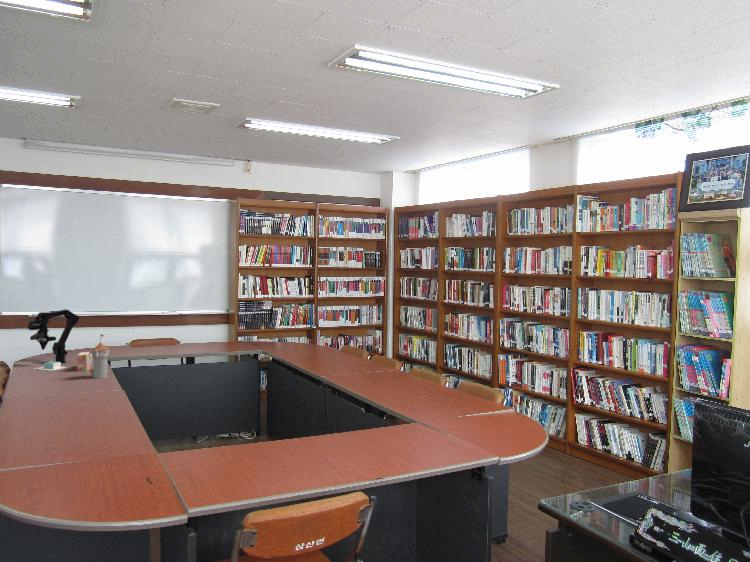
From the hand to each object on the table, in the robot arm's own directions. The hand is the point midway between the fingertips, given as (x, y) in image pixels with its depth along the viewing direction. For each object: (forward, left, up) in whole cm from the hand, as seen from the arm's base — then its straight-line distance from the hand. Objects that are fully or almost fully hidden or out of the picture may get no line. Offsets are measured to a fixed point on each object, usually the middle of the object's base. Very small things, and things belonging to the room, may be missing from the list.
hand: (43, 349), depth 448 cm
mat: (+8, +14, -12) cm, 20 cm away
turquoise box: (+8, +12, -10) cm, 17 cm away
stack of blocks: (0, +38, -12) cm, 39 cm away
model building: (+22, +68, -12) cm, 72 cm away
